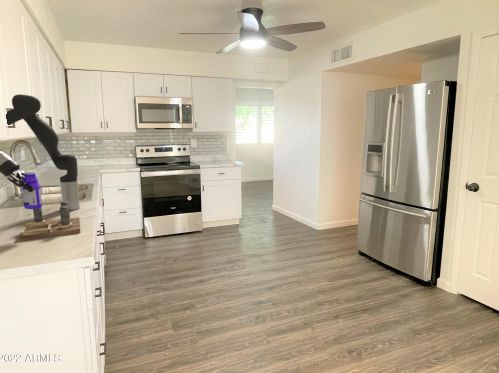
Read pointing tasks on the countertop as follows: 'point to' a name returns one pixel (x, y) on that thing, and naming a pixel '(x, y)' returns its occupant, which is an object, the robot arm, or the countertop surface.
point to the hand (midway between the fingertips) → (35, 189)
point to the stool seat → (51, 225)
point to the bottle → (32, 198)
